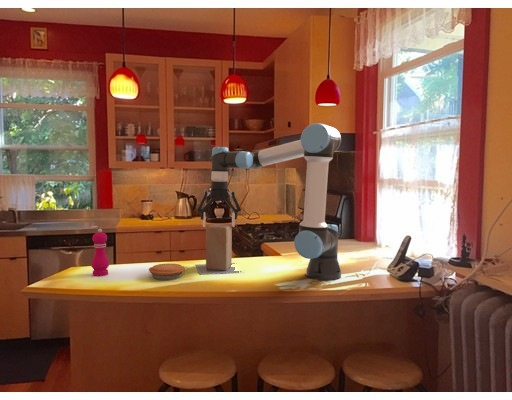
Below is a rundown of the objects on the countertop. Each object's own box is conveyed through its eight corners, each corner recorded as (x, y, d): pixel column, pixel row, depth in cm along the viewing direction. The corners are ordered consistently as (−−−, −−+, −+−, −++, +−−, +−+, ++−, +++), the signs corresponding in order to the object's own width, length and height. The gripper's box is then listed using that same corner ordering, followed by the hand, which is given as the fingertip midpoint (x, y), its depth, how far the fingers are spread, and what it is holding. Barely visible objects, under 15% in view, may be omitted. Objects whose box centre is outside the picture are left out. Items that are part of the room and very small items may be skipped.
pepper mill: (92, 277, 179) (91, 230, 178) (90, 273, 185) (89, 228, 184) (110, 275, 182) (110, 229, 181) (107, 272, 189) (107, 227, 187)
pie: (146, 274, 186) (146, 263, 186) (181, 271, 192) (181, 260, 191) (151, 283, 172) (151, 270, 171) (189, 279, 177) (189, 268, 177)
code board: (244, 272, 191) (244, 272, 191) (199, 274, 186) (199, 274, 186) (235, 263, 210) (235, 263, 210) (195, 264, 205) (195, 264, 205)
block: (226, 271, 192) (226, 227, 191) (205, 270, 194) (205, 226, 193) (232, 266, 202) (232, 224, 201) (211, 265, 204) (211, 224, 203)
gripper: (244, 181, 202) (243, 225, 204) (191, 180, 196) (190, 225, 198) (247, 181, 195) (246, 227, 196) (192, 180, 189) (192, 228, 190)
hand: (218, 226), depth 197 cm, fingers open, 13 cm apart
